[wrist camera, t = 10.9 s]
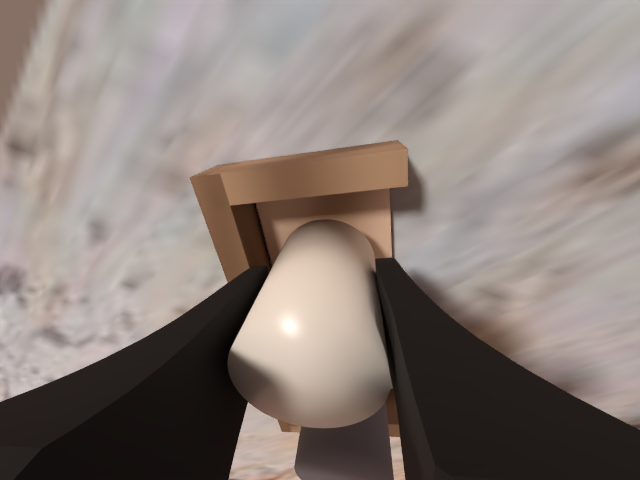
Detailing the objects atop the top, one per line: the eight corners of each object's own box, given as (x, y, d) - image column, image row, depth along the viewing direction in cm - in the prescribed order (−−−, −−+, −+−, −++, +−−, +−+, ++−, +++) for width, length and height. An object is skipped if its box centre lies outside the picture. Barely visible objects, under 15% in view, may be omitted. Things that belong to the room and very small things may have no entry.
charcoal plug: (387, 376, 16) (401, 497, 11) (324, 383, 17) (312, 496, 12) (372, 329, 14) (381, 446, 9) (303, 339, 15) (280, 450, 10)
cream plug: (381, 294, 12) (399, 427, 7) (296, 303, 13) (258, 428, 8) (366, 210, 10) (377, 308, 5) (269, 228, 11) (201, 326, 6)
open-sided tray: (397, 140, 10) (408, 148, 8) (402, 399, 17) (408, 437, 15) (217, 165, 12) (189, 177, 10) (289, 397, 19) (282, 431, 17)
